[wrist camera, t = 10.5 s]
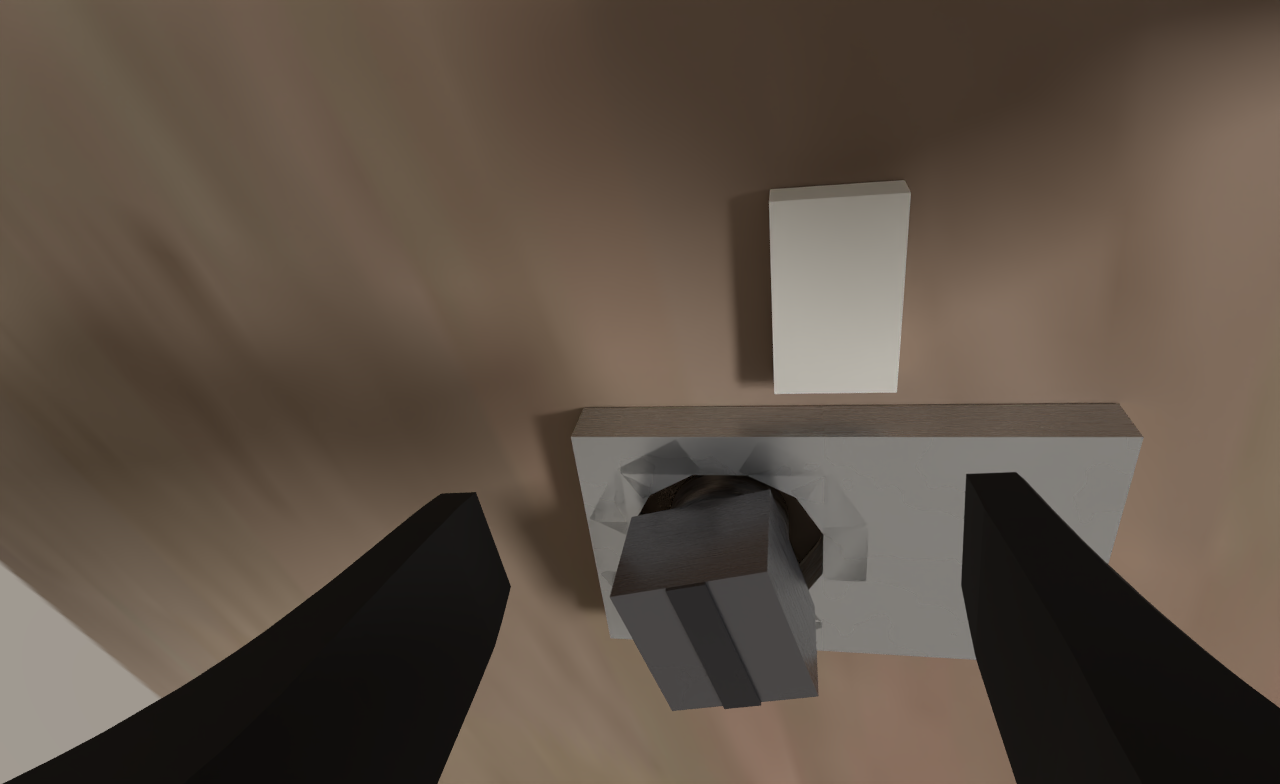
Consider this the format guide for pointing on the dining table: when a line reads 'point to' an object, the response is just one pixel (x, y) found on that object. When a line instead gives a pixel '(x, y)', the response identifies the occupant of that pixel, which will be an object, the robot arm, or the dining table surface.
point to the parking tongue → (838, 286)
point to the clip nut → (719, 597)
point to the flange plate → (865, 495)
